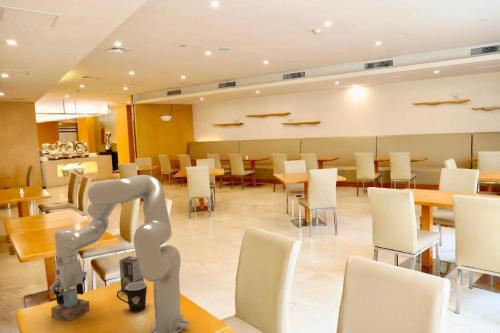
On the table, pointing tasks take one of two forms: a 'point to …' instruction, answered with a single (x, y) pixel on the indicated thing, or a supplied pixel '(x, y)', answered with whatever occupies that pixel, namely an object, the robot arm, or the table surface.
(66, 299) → the peg
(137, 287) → the coffee mug
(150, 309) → the table surface
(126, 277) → the coffee box
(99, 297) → the table surface
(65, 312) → the socket block
